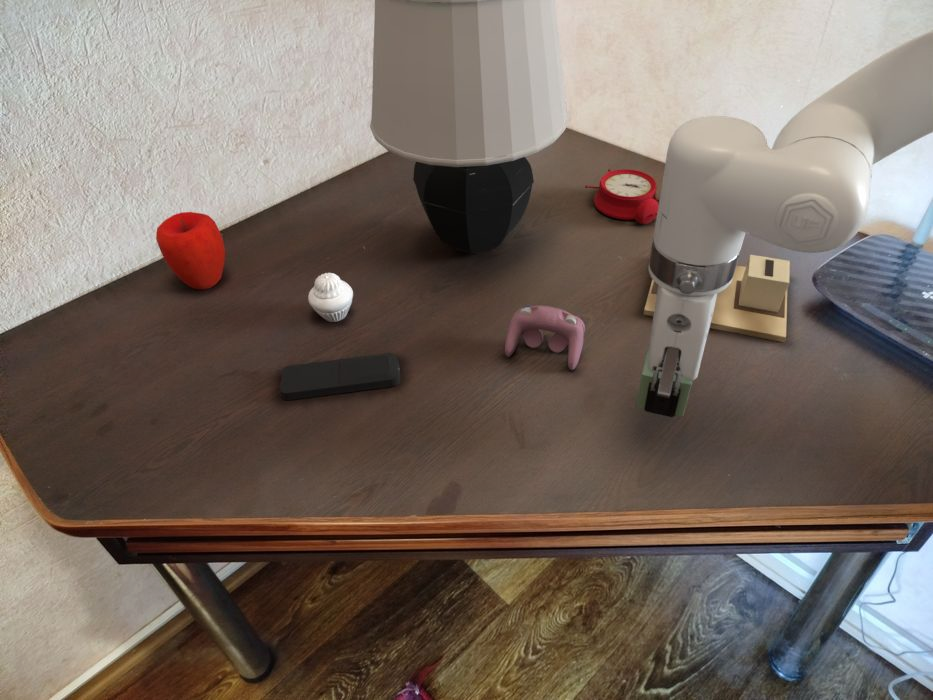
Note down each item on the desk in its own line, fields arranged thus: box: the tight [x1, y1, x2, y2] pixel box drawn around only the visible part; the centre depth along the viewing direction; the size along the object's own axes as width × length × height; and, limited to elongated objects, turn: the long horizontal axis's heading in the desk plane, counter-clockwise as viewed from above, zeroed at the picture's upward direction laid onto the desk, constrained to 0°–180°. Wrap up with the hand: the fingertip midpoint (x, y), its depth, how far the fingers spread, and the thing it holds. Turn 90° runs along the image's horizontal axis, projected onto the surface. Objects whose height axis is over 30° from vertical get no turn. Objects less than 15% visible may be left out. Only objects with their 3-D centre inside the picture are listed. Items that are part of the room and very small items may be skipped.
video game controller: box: [504, 305, 586, 371], centre depth 82 cm, size 10×5×7 cm, turn 71°
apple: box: [155, 211, 226, 290], centre depth 94 cm, size 9×9×11 cm
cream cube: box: [739, 254, 791, 312], centre depth 86 cm, size 5×5×5 cm
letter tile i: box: [635, 343, 693, 418], centre depth 69 cm, size 5×5×5 cm
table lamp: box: [369, 0, 570, 255], centre depth 88 cm, size 27×27×40 cm
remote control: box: [279, 352, 402, 401], centre depth 81 cm, size 5×2×15 cm
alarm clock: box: [584, 168, 660, 225], centre depth 106 cm, size 10×6×15 cm
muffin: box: [307, 272, 354, 323], centre depth 88 cm, size 6×6×7 cm
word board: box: [643, 264, 788, 343], centre depth 89 cm, size 18×14×1 cm
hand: (663, 392), depth 70 cm, fingers closed on letter tile i, 5 cm apart
